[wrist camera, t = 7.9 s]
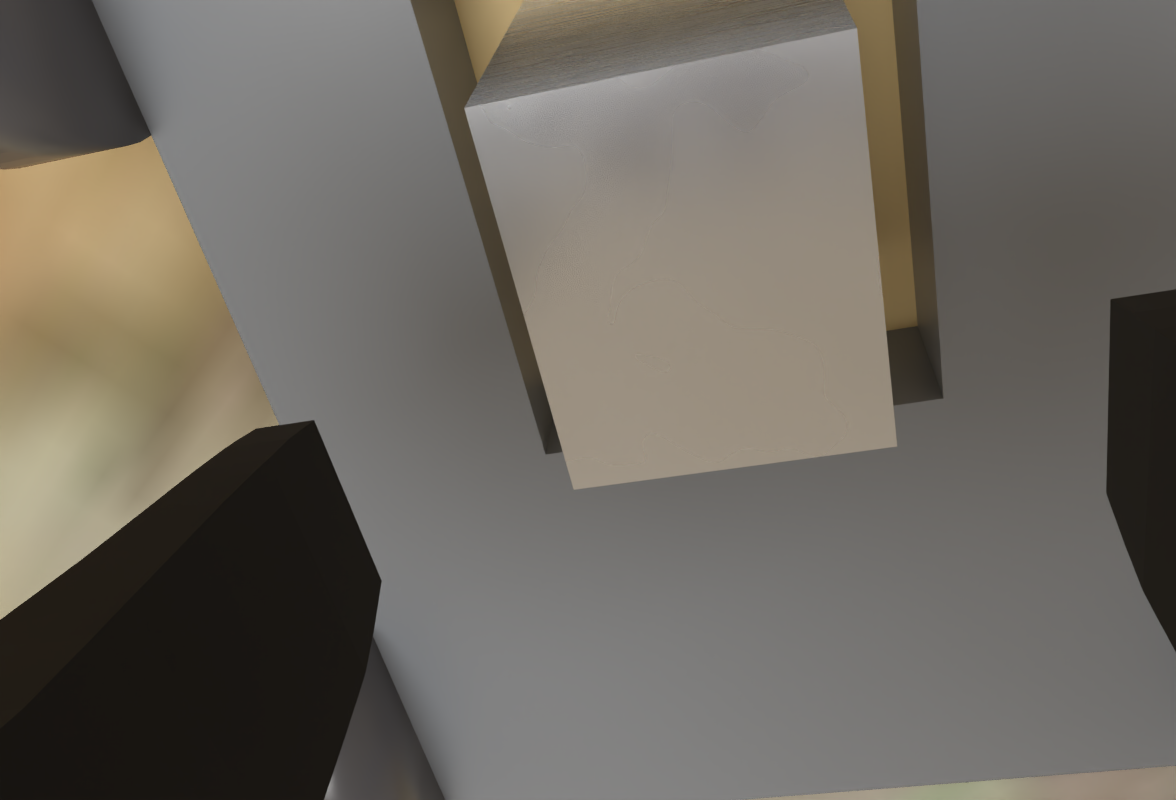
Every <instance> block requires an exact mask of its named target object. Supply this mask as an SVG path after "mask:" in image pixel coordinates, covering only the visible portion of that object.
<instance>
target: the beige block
mask: <svg viewBox="0 0 1176 800" xmlns="http://www.w3.org/2000/svg"><path fill="white" fill-rule="evenodd" d="M464 110H465V113H466V116H467V120H468V123H469V127H470V130H471V134H472V137H473V141H474V144H475V148H476V151H477V155H478V158H479V162H480V165H481V169H482V172H483V176H484V179H485V183H486V186H487V190H488V193H489V197H490V200H491V204H492V207H493V210H494V214H495V217H496V221H497V224H498V228H499V231H500V235H501V238H502V242H503V245H504V249H505V252H506V256H507V259H508V263H509V266H510V270H511V273H512V277H513V280H514V284H515V287H516V291H517V294H518V298H519V301H520V304H521V308H522V311H523V315H524V318H525V322H526V325H527V329H528V332H529V336H530V339H531V343H532V346H533V350H534V353H535V357H536V360H537V364H538V367H539V371H540V374H541V378H542V381H543V385H544V388H545V392H546V395H547V398H548V402H549V405H550V409H551V412H552V416H553V419H554V423H555V426H556V430H557V433H558V437H559V440H560V444H561V447H562V451H563V454H564V458H565V461H566V465H567V468H568V472H569V475H570V479H571V482H572V486H573V489H574V490H576V489H583V488H591V487H598V486H606V485H613V484H621V483H628V482H636V481H643V480H651V479H658V478H666V477H673V476H681V475H688V474H695V473H703V472H710V471H718V470H725V469H733V468H740V467H748V466H755V465H763V464H770V463H778V462H785V461H793V460H800V459H807V458H815V457H822V456H830V455H837V454H845V453H852V452H860V451H867V450H875V449H882V448H890V447H897V439H896V428H895V418H894V408H893V397H892V387H891V376H890V366H889V356H888V345H887V335H886V324H885V314H884V304H883V293H882V283H881V272H880V262H879V252H878V241H877V231H876V220H875V210H874V200H873V189H872V179H871V168H870V158H869V148H868V137H867V127H866V116H865V106H864V95H863V85H862V75H861V64H860V54H859V43H858V33H857V27H856V25H855V23H854V21H853V19H852V17H851V15H850V13H849V11H848V9H847V7H846V5H845V3H844V1H843V0H524V1H523V3H522V4H521V6H520V8H519V10H518V12H517V13H516V15H515V17H514V19H513V21H512V22H511V24H510V26H509V28H508V30H507V31H506V33H505V35H504V37H503V39H502V40H501V42H500V44H499V46H498V48H497V50H496V51H495V53H494V55H493V57H492V59H491V60H490V62H489V64H488V66H487V68H486V69H485V71H484V73H483V75H482V77H481V78H480V80H479V82H478V84H477V86H476V87H475V89H474V91H473V93H472V95H471V96H470V98H469V100H468V102H467V104H466V105H465V107H464Z"/></svg>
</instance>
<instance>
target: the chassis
mask: <svg viewBox="0 0 1176 800" xmlns="http://www.w3.org/2000/svg"><path fill="white" fill-rule="evenodd" d="M523 1H524V0H0V169H15V168H23V167H28V166H33V165H37V164H42V163H47V162H52V161H56V160H61V159H66V158H71V157H76V156H80V155H85V154H90V153H95V152H99V151H104V150H109V149H114V148H119V147H123V146H128V145H131V144H135V143H138V142H141V141H143V140H144V139H146V138H147V137H149V136H151V135H152V138H153V140H154V142H155V144H156V147H157V149H158V151H159V153H160V156H161V158H162V160H163V163H164V165H165V167H166V169H167V172H168V174H169V176H170V178H171V181H172V183H173V185H174V187H175V190H176V192H177V194H178V196H179V199H180V201H181V203H182V206H183V208H184V210H185V212H186V215H187V217H188V219H189V221H190V224H191V226H192V228H193V230H194V233H195V235H196V237H197V239H198V242H199V244H200V246H201V248H202V251H203V253H204V255H205V258H206V260H207V262H208V264H209V267H210V269H211V271H212V273H213V276H214V278H215V280H216V282H217V285H218V287H219V289H220V291H221V294H222V296H223V298H224V301H225V303H226V305H227V307H228V310H229V312H230V314H231V316H232V319H233V321H234V323H235V325H236V328H237V330H238V332H239V334H240V337H241V339H242V341H243V343H244V346H245V348H246V350H247V353H248V355H249V357H250V359H251V362H252V364H253V366H254V368H255V371H256V373H257V375H258V377H259V380H260V382H261V384H262V386H263V389H264V391H265V393H266V395H267V398H268V400H269V402H270V405H271V407H272V409H273V411H274V414H275V416H276V418H277V420H278V423H279V425H284V424H291V423H298V422H304V421H311V420H314V421H315V423H316V426H317V428H318V430H319V433H320V435H321V438H322V440H323V442H324V445H325V447H326V450H327V452H328V454H329V457H330V459H331V461H332V464H333V466H334V469H335V471H336V473H337V476H338V478H339V480H340V483H341V485H342V488H343V490H344V492H345V495H346V497H347V499H348V502H349V504H350V507H351V509H352V511H353V514H354V516H355V518H356V521H357V523H358V526H359V528H360V530H361V533H362V535H363V538H364V540H365V542H366V545H367V547H368V549H369V552H370V554H371V557H372V559H373V561H374V564H375V566H376V568H377V571H378V573H379V576H380V578H381V580H382V583H381V589H380V595H379V602H378V608H377V614H376V621H375V627H374V633H373V638H372V643H371V648H370V653H369V658H368V663H367V668H366V673H365V676H364V680H363V683H362V686H361V689H360V693H359V696H358V699H357V702H356V705H355V708H354V711H353V714H352V717H351V720H350V723H349V727H348V730H347V733H346V736H345V739H344V742H343V745H342V748H341V751H340V754H339V757H338V760H337V763H336V766H335V769H334V772H333V775H332V778H331V781H330V784H329V786H328V789H327V792H326V795H325V798H324V800H744V799H757V798H769V797H782V796H795V795H808V794H820V793H833V792H846V791H859V790H871V789H884V788H897V787H910V786H922V785H935V784H948V783H961V782H973V781H986V780H999V779H1012V778H1024V777H1037V776H1050V775H1063V774H1075V773H1088V772H1101V771H1114V770H1127V769H1139V768H1152V767H1165V766H1176V652H1175V650H1174V648H1173V646H1172V644H1171V642H1170V641H1169V639H1168V637H1167V635H1166V633H1165V631H1164V630H1163V628H1162V626H1161V624H1160V622H1159V620H1158V619H1157V617H1156V615H1155V613H1154V611H1153V609H1152V607H1151V605H1150V604H1149V602H1148V600H1147V598H1146V596H1145V594H1144V592H1143V590H1142V588H1141V585H1140V582H1139V580H1138V577H1137V575H1136V572H1135V570H1134V567H1133V565H1132V562H1131V559H1130V557H1129V554H1128V552H1127V549H1126V547H1125V544H1124V541H1123V538H1122V536H1121V533H1120V530H1119V527H1118V525H1117V522H1116V519H1115V516H1114V514H1113V511H1112V508H1111V505H1110V503H1109V500H1108V497H1107V494H1106V478H1107V433H1108V389H1109V345H1110V300H1111V299H1115V298H1121V297H1128V296H1135V295H1141V294H1148V293H1154V292H1161V291H1168V290H1174V289H1176V0H843V1H844V3H845V5H846V7H847V9H848V11H849V13H850V15H851V17H852V19H853V21H854V23H855V25H856V27H857V33H858V43H859V54H860V64H861V75H862V85H863V95H864V106H865V116H866V127H867V137H868V148H869V158H870V168H871V179H872V189H873V200H874V210H875V220H876V231H877V241H878V252H879V262H880V272H881V283H882V293H883V304H884V314H885V324H886V335H887V345H888V356H889V366H890V376H891V387H892V397H893V408H894V418H895V428H896V439H897V447H890V448H882V449H875V450H867V451H860V452H852V453H845V454H837V455H830V456H822V457H815V458H807V459H800V460H793V461H785V462H778V463H770V464H763V465H755V466H748V467H740V468H733V469H725V470H718V471H710V472H703V473H695V474H688V475H681V476H673V477H666V478H658V479H651V480H643V481H636V482H628V483H621V484H613V485H606V486H598V487H591V488H583V489H576V490H574V489H573V486H572V482H571V479H570V475H569V472H568V468H567V465H566V461H565V458H564V454H563V451H562V447H561V444H560V440H559V437H558V433H557V430H556V426H555V423H554V419H553V416H552V412H551V409H550V405H549V402H548V398H547V395H546V392H545V388H544V385H543V381H542V378H541V374H540V371H539V367H538V364H537V360H536V357H535V353H534V350H533V346H532V343H531V339H530V336H529V332H528V329H527V325H526V322H525V318H524V315H523V311H522V308H521V304H520V301H519V298H518V294H517V291H516V287H515V284H514V280H513V277H512V273H511V270H510V266H509V263H508V259H507V256H506V252H505V249H504V245H503V242H502V238H501V235H500V231H499V228H498V224H497V221H496V217H495V214H494V210H493V207H492V204H491V200H490V197H489V193H488V190H487V186H486V183H485V179H484V176H483V172H482V169H481V165H480V162H479V158H478V155H477V151H476V148H475V144H474V141H473V137H472V134H471V130H470V127H469V123H468V120H467V116H466V113H465V110H464V107H465V105H466V104H467V102H468V100H469V98H470V96H471V95H472V93H473V91H474V89H475V87H476V86H477V84H478V82H479V80H480V78H481V77H482V75H483V73H484V71H485V69H486V68H487V66H488V64H489V62H490V60H491V59H492V57H493V55H494V53H495V51H496V50H497V48H498V46H499V44H500V42H501V40H502V39H503V37H504V35H505V33H506V31H507V30H508V28H509V26H510V24H511V22H512V21H513V19H514V17H515V15H516V13H517V12H518V10H519V8H520V6H521V4H522V3H523Z"/></svg>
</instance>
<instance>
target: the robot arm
mask: <svg viewBox="0 0 1176 800" xmlns="http://www.w3.org/2000/svg"><path fill="white" fill-rule="evenodd" d="M1106 494H1107V497H1108V500H1109V503H1110V505H1111V508H1112V511H1113V514H1114V516H1115V519H1116V522H1117V525H1118V527H1119V530H1120V533H1121V536H1122V538H1123V541H1124V544H1125V547H1126V549H1127V552H1128V554H1129V557H1130V559H1131V562H1132V565H1133V567H1134V570H1135V572H1136V575H1137V577H1138V580H1139V582H1140V585H1141V588H1142V590H1143V592H1144V594H1145V596H1146V598H1147V600H1148V602H1149V604H1150V605H1151V607H1152V609H1153V611H1154V613H1155V615H1156V617H1157V619H1158V620H1159V622H1160V624H1161V626H1162V628H1163V630H1164V631H1165V633H1166V635H1167V637H1168V639H1169V641H1170V642H1171V644H1172V646H1173V648H1174V650H1175V652H1176V289H1174V290H1168V291H1161V292H1154V293H1148V294H1141V295H1135V296H1128V297H1121V298H1115V299H1111V300H1110V345H1109V389H1108V433H1107V478H1106ZM381 583H382V580H381V578H380V576H379V573H378V571H377V568H376V566H375V564H374V561H373V559H372V557H371V554H370V552H369V549H368V547H367V545H366V542H365V540H364V538H363V535H362V533H361V530H360V528H359V526H358V523H357V521H356V518H355V516H354V514H353V511H352V509H351V507H350V504H349V502H348V499H347V497H346V495H345V492H344V490H343V488H342V485H341V483H340V480H339V478H338V476H337V473H336V471H335V469H334V466H333V464H332V461H331V459H330V457H329V454H328V452H327V450H326V447H325V445H324V442H323V440H322V438H321V435H320V433H319V430H318V428H317V426H316V423H315V421H314V420H311V421H304V422H298V423H291V424H284V425H278V426H271V427H265V428H258V429H255V430H253V431H252V432H250V433H248V434H247V435H245V436H243V437H242V438H240V439H238V440H237V441H235V442H234V443H232V444H231V445H230V446H228V447H227V448H225V449H224V450H222V451H221V452H220V453H218V454H217V455H215V456H214V457H213V458H211V459H210V460H209V461H207V462H206V463H205V464H203V465H202V466H201V467H199V468H198V469H197V470H195V471H194V472H193V473H192V474H190V475H189V476H188V477H186V478H185V479H184V480H182V481H181V482H180V483H179V484H177V485H176V486H175V487H174V488H172V489H171V490H170V491H168V492H167V493H166V494H165V495H163V496H162V497H161V498H160V499H158V500H157V501H156V502H154V503H153V504H152V505H151V506H149V507H148V508H147V509H146V510H144V511H143V512H142V513H140V514H139V515H138V516H137V517H135V518H134V519H133V520H132V521H130V522H129V523H128V524H127V525H125V526H124V527H123V528H121V529H120V530H119V531H118V532H116V533H115V534H114V535H113V536H111V537H110V538H109V539H107V540H106V541H105V542H104V543H102V544H101V545H100V546H99V547H97V548H96V549H95V550H94V551H92V552H91V553H90V554H88V555H87V556H86V557H85V558H83V559H82V560H81V561H79V562H78V563H77V564H75V565H74V566H72V567H71V568H70V569H68V570H67V571H66V572H64V573H63V574H62V575H60V576H59V577H58V578H56V579H55V580H54V581H52V582H51V583H49V584H48V585H47V586H45V587H44V588H43V589H41V590H40V591H39V592H37V593H36V594H35V595H33V596H32V597H31V598H29V599H28V600H26V601H25V602H24V603H22V604H21V605H20V606H18V607H17V608H16V609H14V610H13V611H12V612H10V613H9V614H8V615H6V616H5V617H4V618H2V619H1V620H0V800H324V798H325V795H326V792H327V789H328V786H329V784H330V781H331V778H332V775H333V772H334V769H335V766H336V763H337V760H338V757H339V754H340V751H341V748H342V745H343V742H344V739H345V736H346V733H347V730H348V727H349V723H350V720H351V717H352V714H353V711H354V708H355V705H356V702H357V699H358V696H359V693H360V689H361V686H362V683H363V680H364V676H365V673H366V668H367V663H368V658H369V653H370V648H371V643H372V638H373V633H374V627H375V621H376V614H377V608H378V602H379V595H380V589H381Z"/></svg>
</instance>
